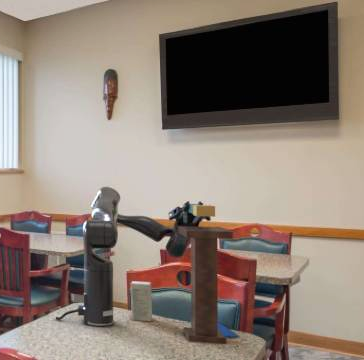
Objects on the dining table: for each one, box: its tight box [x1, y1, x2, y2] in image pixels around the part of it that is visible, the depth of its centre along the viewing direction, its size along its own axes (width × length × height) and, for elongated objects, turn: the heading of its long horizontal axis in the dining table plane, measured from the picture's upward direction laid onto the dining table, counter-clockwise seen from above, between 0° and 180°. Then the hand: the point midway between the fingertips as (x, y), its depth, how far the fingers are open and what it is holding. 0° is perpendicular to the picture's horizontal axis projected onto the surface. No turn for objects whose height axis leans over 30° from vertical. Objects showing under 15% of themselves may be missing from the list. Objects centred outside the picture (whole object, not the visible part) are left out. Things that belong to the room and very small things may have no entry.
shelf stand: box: [178, 225, 234, 344], centre depth 144 cm, size 12×14×32 cm
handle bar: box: [188, 203, 216, 218], centre depth 153 cm, size 5×22×3 cm, turn 167°
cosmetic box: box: [130, 280, 153, 322], centre depth 163 cm, size 6×4×12 cm
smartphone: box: [218, 321, 238, 339], centre depth 152 cm, size 7×1×15 cm
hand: (194, 204), depth 158 cm, fingers closed on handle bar, 3 cm apart
